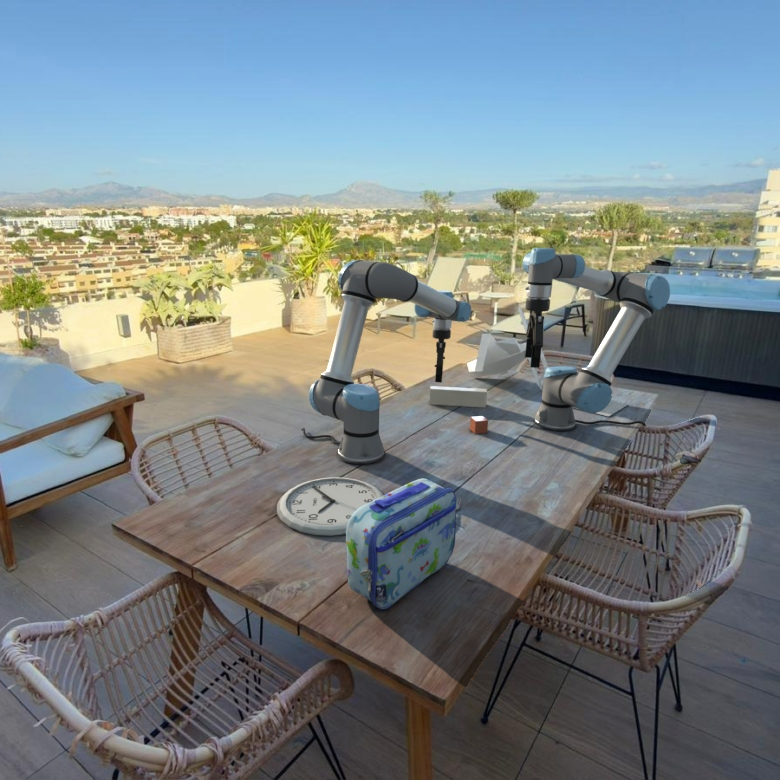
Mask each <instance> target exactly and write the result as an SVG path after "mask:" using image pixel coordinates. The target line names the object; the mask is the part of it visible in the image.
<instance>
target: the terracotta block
mask: <svg viewBox="0 0 780 780" xmlns="http://www.w3.org/2000/svg"><path fill="white" fill-rule="evenodd" d="M469 421H470V422H469V430H470V431H471V432H472V433H473V434H474V435H477V434H488V429H489V428H488V427H489V420H488V419H487V418H486V417H485V416H484V415H479V416H470V420H469Z"/></svg>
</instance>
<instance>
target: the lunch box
mask: <svg viewBox="0 0 780 780" xmlns="http://www.w3.org/2000/svg"><path fill="white" fill-rule="evenodd" d="M456 498H457V495H456V493H455V491H454V489H452V488H450V487H443V486H441V485H439V484H438V483H436V482H433V481H432V480H430V479H427V478H423V477H422V478H418V479H416V480H413V481H411V482H409V483H406V484H405V485H402V486H400V487H398V488H396V489H394V490H392V491H390V492H388V493H386V494H384V496H382V497H380V498H378V499H376V500H374V501H372V502H370V503H368V504H366V505H364V506H362V507H360V508H358V509H357V510H356V511H355V512H354V513H353V514H352V515H351V517H350V519H349V521H348V524H347V528H346V534H345V547H346V549H345V550H346V572H347V573H346V575H347V584H348V587H349V589H350V590H351V591H353V592H355V593H357V594H358V595H361V596H363V597H364V598H365V599H367V600H368V601H369V602H371V604H372V605H373V606H374V607H376V608H377V609H380V610H386V609H389V608H391V607H393V605H395V603H397V602H398V601H399V600H400V599H402V598H403V597H404V596H405V595H408V593H410V592H411V591H412V590H413V589H415V588H416V587H417V586H419V585H420V584H421V583H423V581H424V580H425V579H427V578H428V577H430V576H431V575H433V574H435V573H437V572H438V571H439V570H441V569H442V568H443V567H444V566H446V564H447V563H448V562H449V560H450V559H451V556H452V555H453V552H454V548H455V544H456V531H457V530H456V529H457V510H456V502H457V499H456Z"/></svg>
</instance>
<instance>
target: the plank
mask: <svg viewBox="0 0 780 780" xmlns="http://www.w3.org/2000/svg"><path fill="white" fill-rule="evenodd" d="M487 398H488V389H487V388H480V387H479V388H475V387H458V386H457V387H456V386H440V385H439V386H437V385H430V389H429V405H432V406H435V405H436V406H451V407H452V406H453V407H467V408H468V407H470V408H487V400H488V399H487Z"/></svg>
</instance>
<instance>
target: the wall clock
mask: <svg viewBox="0 0 780 780" xmlns="http://www.w3.org/2000/svg"><path fill="white" fill-rule="evenodd" d="M384 495H385V494H384V493H383V492H382V491H381V490H380V489H379V488H377V487H376V486H375V485H372V484H371V483H369V482H366V481H363V480H359V479H355V478H349V477H338V476H337V477H335V476H333V477H332V476H331V477H322V478H317V479H312V480H307V481H305V482H302V483H299V484H297V485H295V486H294V487H292V488H290V489H288V490H287V491H286V492H285V493H284V494H283V495H281V497H280V498H279V500H278V502H277V503H276V515H277V516H278V518H279V520H280V521H281V522H282V523H283V524H285V525H286V526H287V527H288V528H290V529H293V530H295V531H297V532H300V533H304V534H308V535H312V536H313V535H314V536H327V537H328V536H329V537H331V536H342V535H346V528H347V524H348V521H349V519H350V517H351V515H352V514H353V513H354V512H355V511H356V510H357V509H358V508H360V507H362V506H364V505H366V504H368V503H370V502H372V501H374V500H376V499H378V498H380V497H382V496H384Z"/></svg>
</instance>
